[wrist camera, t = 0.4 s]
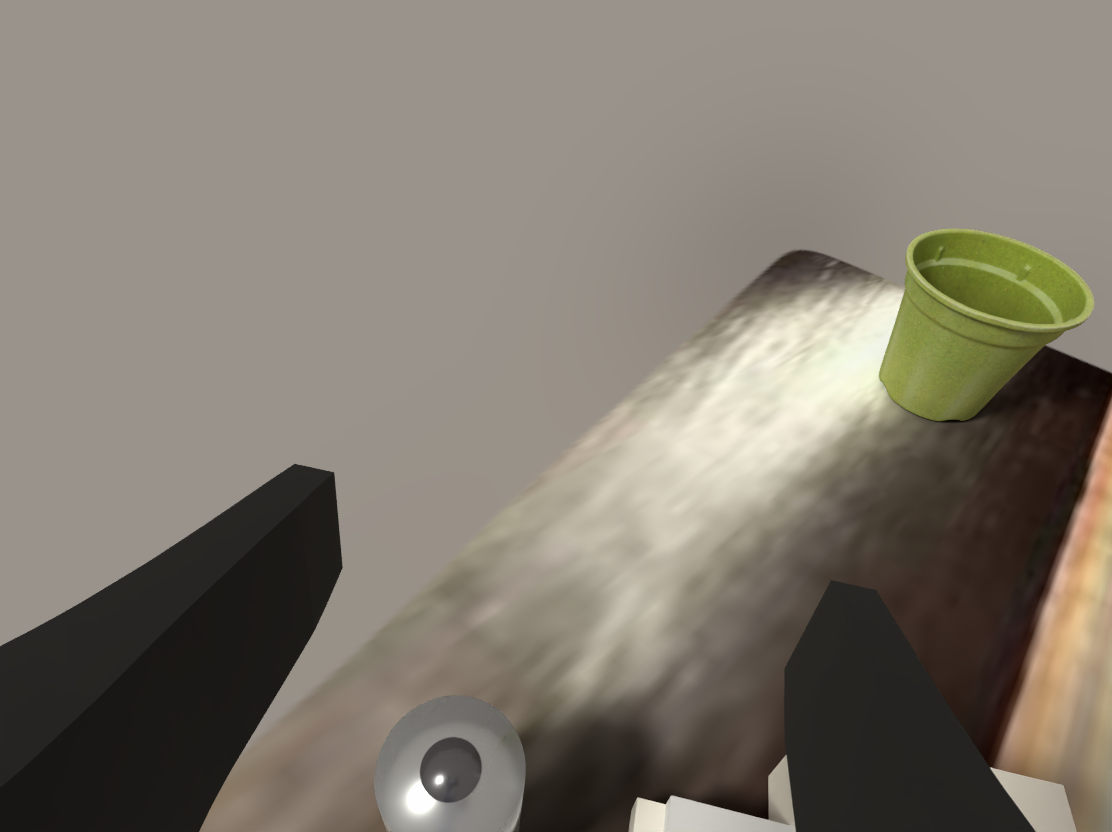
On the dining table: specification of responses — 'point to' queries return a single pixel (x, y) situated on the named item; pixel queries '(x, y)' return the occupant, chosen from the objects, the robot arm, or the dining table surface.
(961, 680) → the dining table surface
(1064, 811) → the scale
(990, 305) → the plant pot
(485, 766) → the cylinder
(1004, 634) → the dining table surface
